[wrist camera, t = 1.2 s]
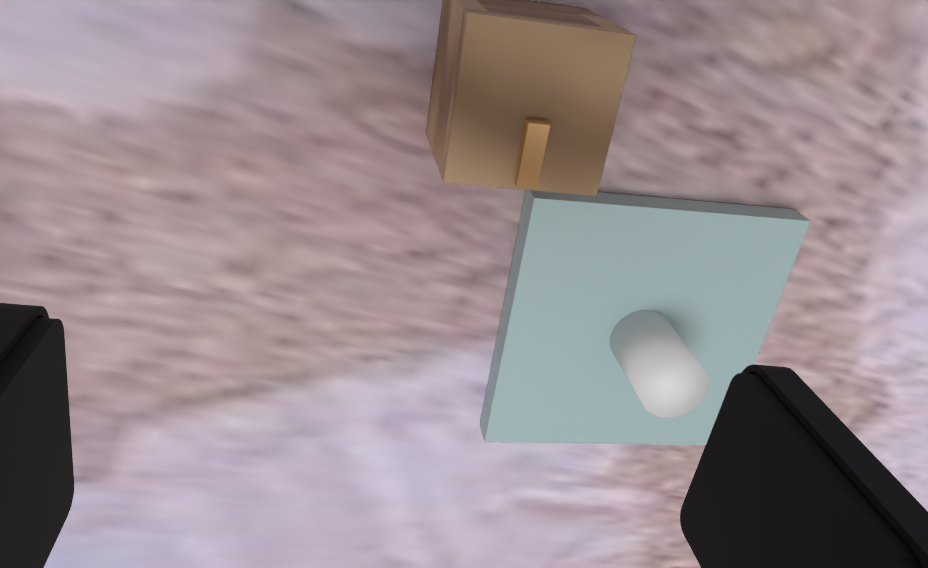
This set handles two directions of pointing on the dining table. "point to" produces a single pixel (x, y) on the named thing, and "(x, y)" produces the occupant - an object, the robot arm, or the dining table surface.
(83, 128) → the dining table surface
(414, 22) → the dining table surface
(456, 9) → the light brown wooden cube
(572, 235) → the shaft base
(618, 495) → the dining table surface
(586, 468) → the dining table surface
